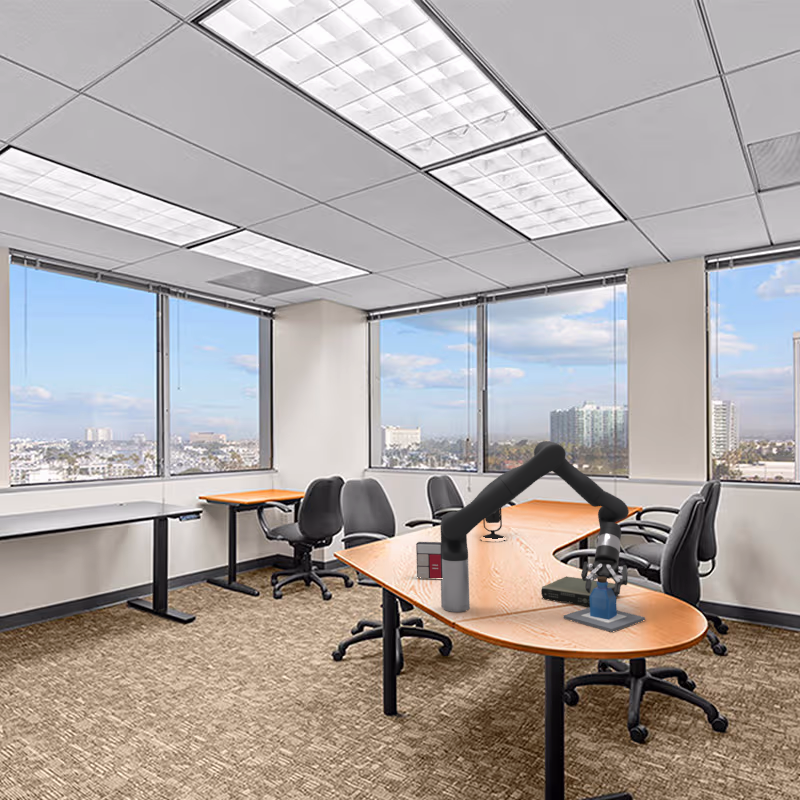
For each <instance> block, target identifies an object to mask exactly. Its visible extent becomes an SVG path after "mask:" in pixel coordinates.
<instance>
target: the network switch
mask: <svg viewBox="0 0 800 800" xmlns="http://www.w3.org/2000/svg"><path fill="white" fill-rule="evenodd" d="M597 581H598V580H593V581H592V582H591V583H592V584H591V591H590V593H588V592H587V591H586V588H585V585H586V581H583V579H582V577H581V578H580V577H572V576H564V577H561V578H559V579H557V580H555V581H553V582H550V583H548V584H546V585H543V586H542V587H541V591H540V592H541V596H542V597H541V598H542V599H543V598H544V599H543V600H547V599H549V600H548V601H553V600H555V601H554V602H560V601H561V603H569V604H575V605H578V606H580V605H581V606H584V607H585V606H586V607H585V608H589V607H590V595H591V593H592V591H593V589H594V588H596V587H598V585H597ZM607 587H608V588H611V589H612V590H613V592H614V588H615V582H614V583H613V582H608V585H607ZM616 598H618V596H616Z"/></svg>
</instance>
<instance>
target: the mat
mask: <svg viewBox="0 0 800 800" xmlns="http://www.w3.org/2000/svg"><path fill="white" fill-rule="evenodd" d="M562 617H563V618H564V620H566V621H570V620H572V621H571V622H574V621H575V623H577V622H578V624H580V625H583V626H584V625H585V626H588V627H592V628H595V629H599V630H602V631H605V630H606V632H609V631H610V632H609V633H614V632H613V631H615V632H617V631H620V630H622V628H623V629H625V628H624V627H626V628H628V627H631V626H634V625H636V624H635V623H637V624H639V623H638V622H640V623H642V622H644V621H643V620H645V621H646V617H645V616H641V615H637V614H634V613H633V614H632V613H630V612H625V611H621V610H618V609H617V615H616V616H614V617H613V618H611V619H609V620H608V619H603V618H598V617H593V616H590V607H585V608H583V609H579V610H576V611H574V612H570V613H568V614H567V613H566V614H564V615H563V616H562ZM641 621H642V622H641ZM633 624H634V625H633ZM630 625H631V626H630ZM627 626H628V627H627ZM619 629H620V630H619ZM616 630H617V631H616Z"/></svg>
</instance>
